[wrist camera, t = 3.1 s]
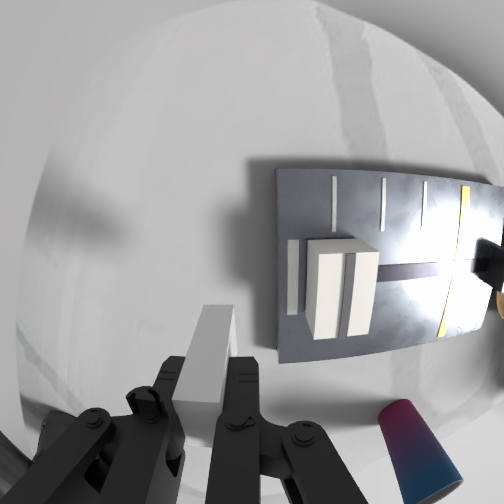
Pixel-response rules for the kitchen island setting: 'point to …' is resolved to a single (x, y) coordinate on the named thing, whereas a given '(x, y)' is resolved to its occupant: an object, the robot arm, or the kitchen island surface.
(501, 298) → the plant saucer
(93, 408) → the robot arm
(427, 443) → the cup
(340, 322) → the fader
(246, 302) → the kitchen island surface
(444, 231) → the console
